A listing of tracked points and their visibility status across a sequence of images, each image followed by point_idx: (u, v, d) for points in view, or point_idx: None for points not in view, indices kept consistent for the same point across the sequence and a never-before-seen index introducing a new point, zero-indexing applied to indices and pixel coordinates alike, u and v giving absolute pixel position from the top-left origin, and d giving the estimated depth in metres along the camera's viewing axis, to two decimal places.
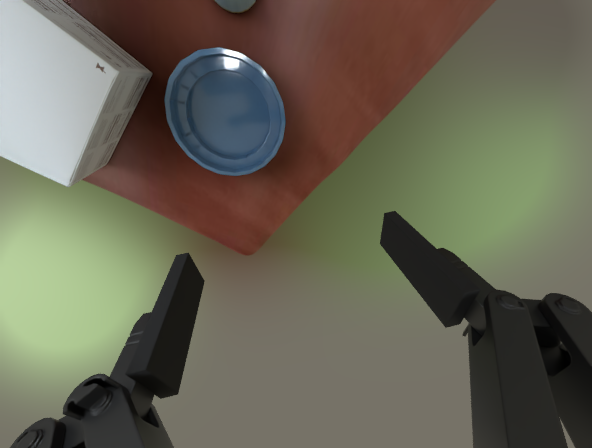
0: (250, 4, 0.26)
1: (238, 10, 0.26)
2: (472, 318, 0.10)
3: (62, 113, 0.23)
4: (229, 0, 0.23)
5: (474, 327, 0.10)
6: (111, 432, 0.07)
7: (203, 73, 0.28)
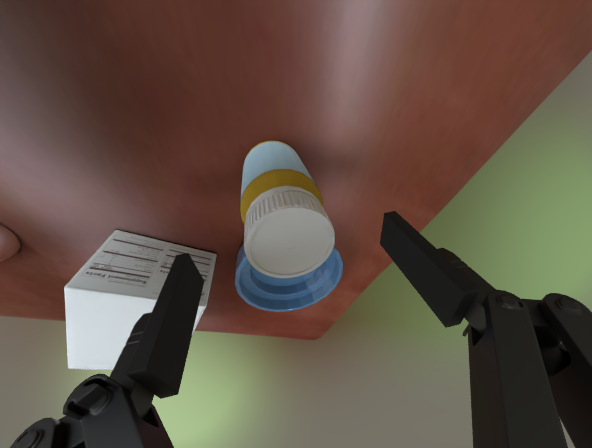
0: None
1: None
2: (472, 318, 0.10)
3: None
4: None
5: (474, 327, 0.10)
6: (111, 432, 0.07)
7: None
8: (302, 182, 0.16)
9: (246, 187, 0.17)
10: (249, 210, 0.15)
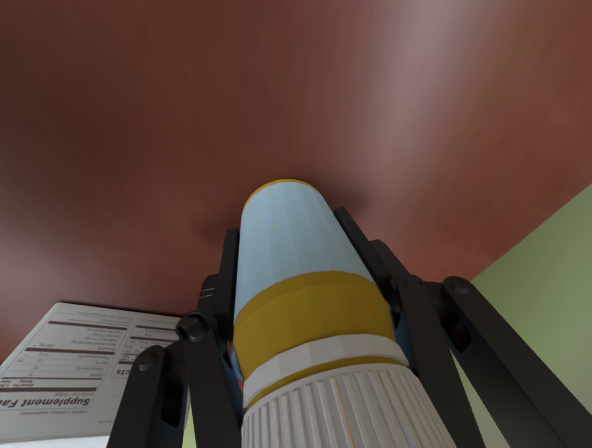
0: None
1: None
2: (391, 304, 0.11)
3: None
4: None
5: (394, 311, 0.11)
6: (203, 360, 0.08)
7: None
8: (365, 308, 0.07)
9: (245, 304, 0.08)
10: (251, 390, 0.06)
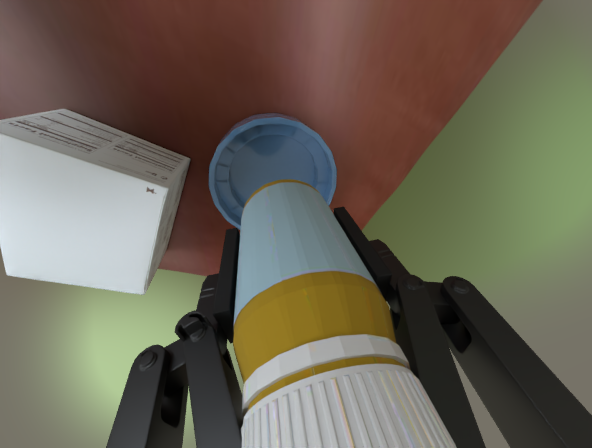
0: None
1: None
2: (390, 304, 0.11)
3: (126, 239, 0.22)
4: None
5: (394, 311, 0.11)
6: (203, 360, 0.08)
7: (240, 146, 0.25)
8: (365, 308, 0.07)
9: (245, 304, 0.08)
10: (251, 390, 0.06)
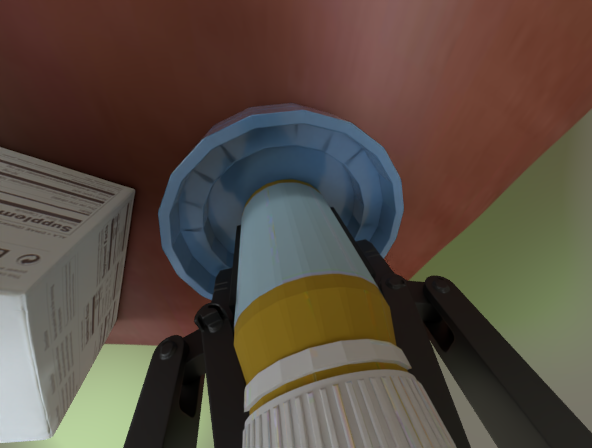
0: None
1: None
2: None
3: None
4: None
5: None
6: (220, 350, 0.08)
7: (224, 170, 0.13)
8: (367, 312, 0.07)
9: (245, 307, 0.08)
10: (252, 396, 0.06)
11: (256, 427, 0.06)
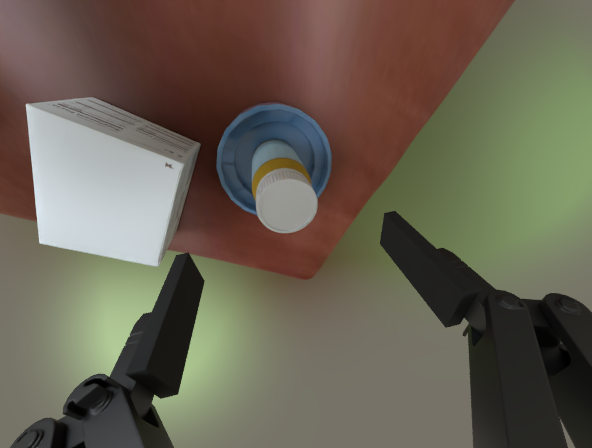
0: None
1: None
2: (472, 318, 0.10)
3: (145, 211, 0.25)
4: None
5: (474, 327, 0.10)
6: (111, 432, 0.07)
7: (245, 131, 0.28)
8: (296, 166, 0.23)
9: (256, 170, 0.24)
10: (259, 184, 0.22)
11: (260, 186, 0.21)
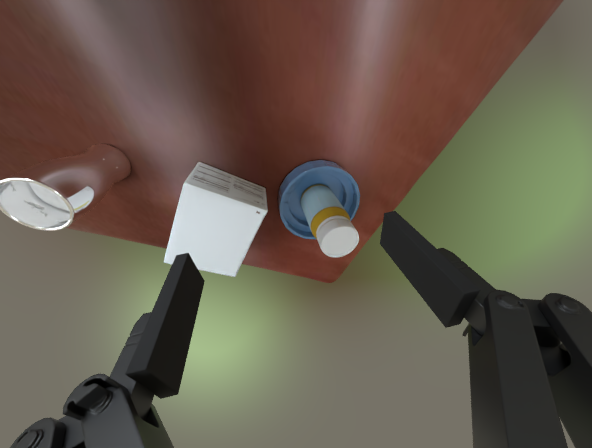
0: None
1: None
2: (472, 318, 0.10)
3: (236, 240, 0.37)
4: None
5: (474, 327, 0.10)
6: (111, 432, 0.07)
7: (300, 181, 0.40)
8: (342, 213, 0.34)
9: (315, 214, 0.35)
10: (320, 226, 0.33)
11: (322, 228, 0.33)
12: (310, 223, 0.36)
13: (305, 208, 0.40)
